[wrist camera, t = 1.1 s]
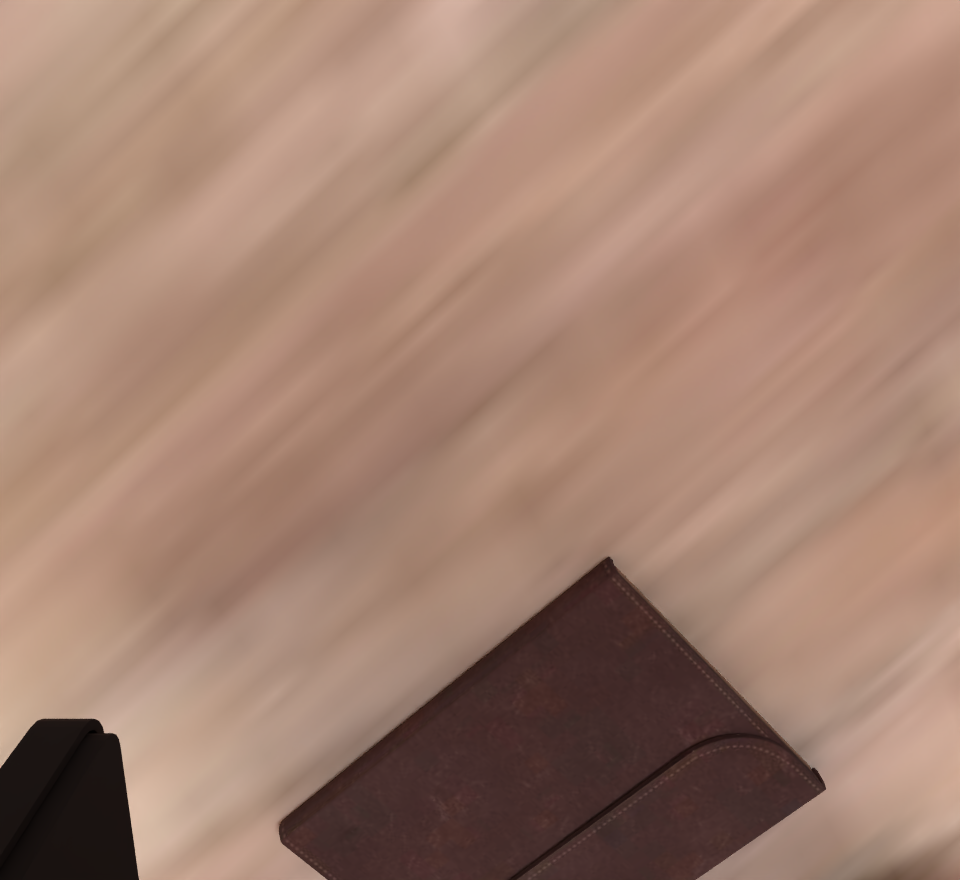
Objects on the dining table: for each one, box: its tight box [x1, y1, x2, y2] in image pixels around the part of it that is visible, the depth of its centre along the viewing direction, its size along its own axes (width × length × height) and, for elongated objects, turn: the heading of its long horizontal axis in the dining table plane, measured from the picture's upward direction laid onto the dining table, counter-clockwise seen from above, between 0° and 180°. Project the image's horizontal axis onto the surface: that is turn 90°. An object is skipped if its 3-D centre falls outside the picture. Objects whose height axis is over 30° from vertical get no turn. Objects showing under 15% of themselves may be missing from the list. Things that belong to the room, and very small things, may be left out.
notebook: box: [279, 557, 826, 880], centre depth 40 cm, size 15×20×2 cm
